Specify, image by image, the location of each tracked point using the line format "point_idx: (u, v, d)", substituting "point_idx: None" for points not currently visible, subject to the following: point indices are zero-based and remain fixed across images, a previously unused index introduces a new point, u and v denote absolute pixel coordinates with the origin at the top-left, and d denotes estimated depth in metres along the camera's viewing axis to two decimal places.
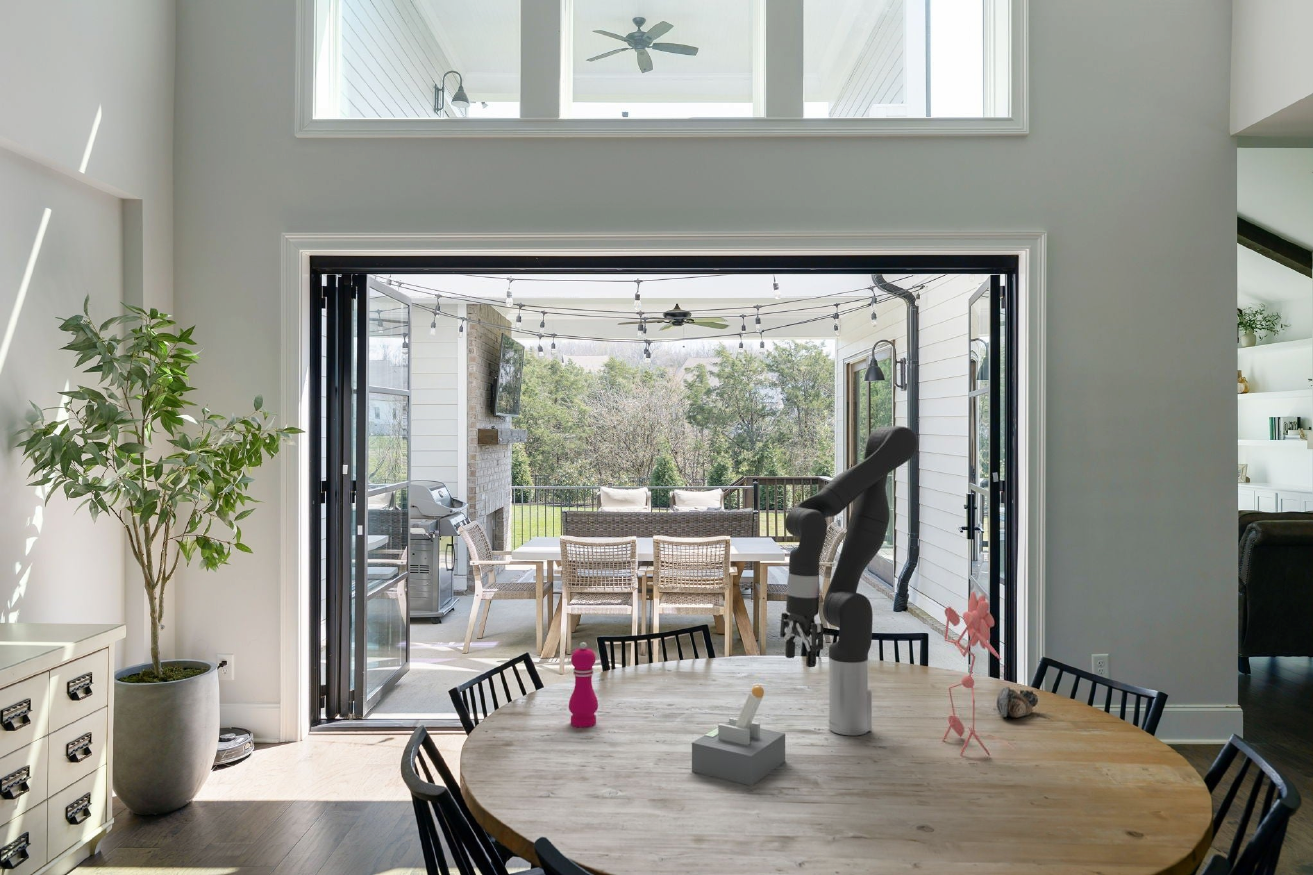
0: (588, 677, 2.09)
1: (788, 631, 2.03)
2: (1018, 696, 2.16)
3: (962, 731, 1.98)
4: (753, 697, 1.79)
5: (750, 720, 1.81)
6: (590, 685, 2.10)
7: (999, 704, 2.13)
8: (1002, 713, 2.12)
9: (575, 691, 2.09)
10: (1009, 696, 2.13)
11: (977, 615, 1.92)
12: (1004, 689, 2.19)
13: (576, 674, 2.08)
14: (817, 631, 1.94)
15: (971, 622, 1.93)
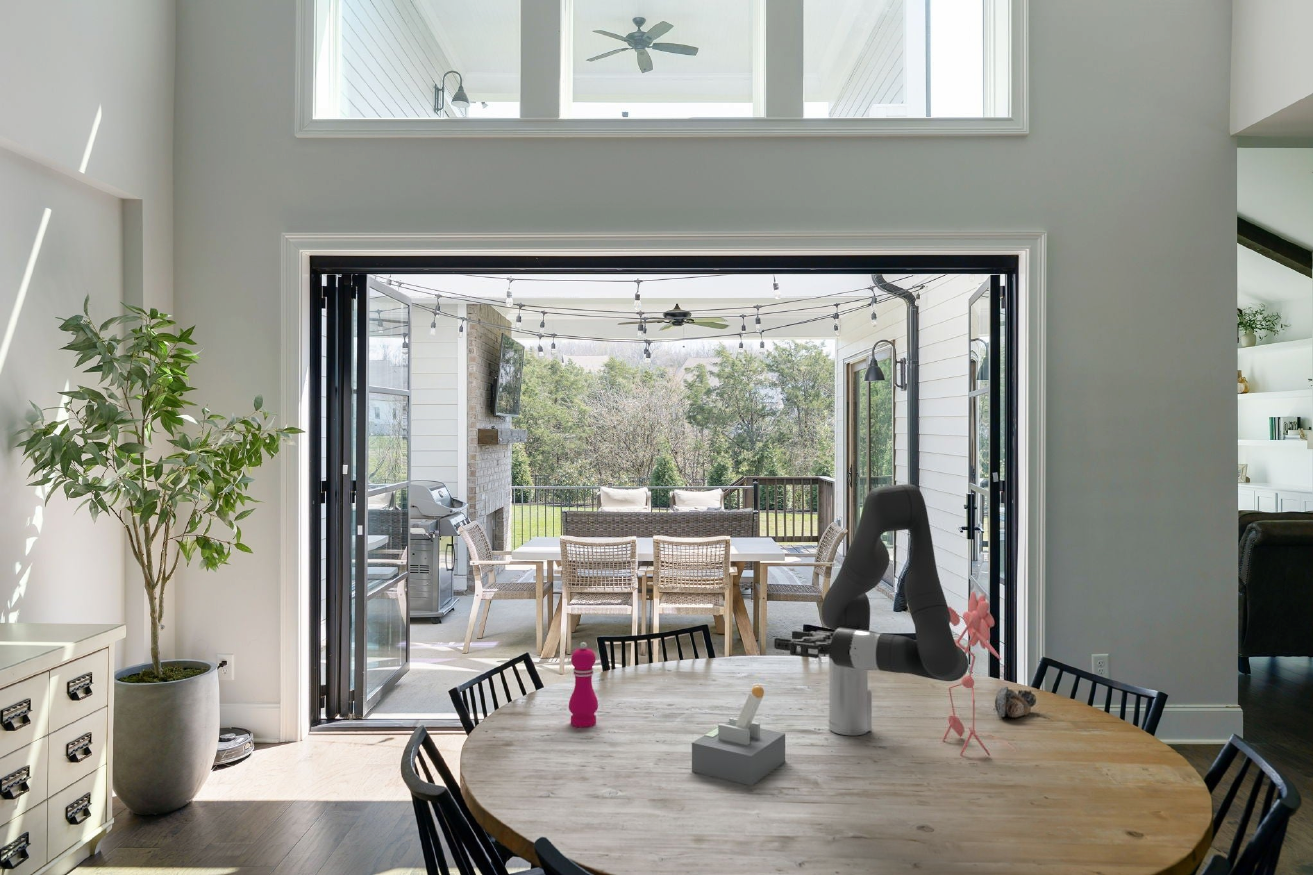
0: (588, 677, 2.09)
1: None
2: (1016, 696, 2.16)
3: (962, 731, 1.98)
4: (753, 697, 1.79)
5: (750, 720, 1.81)
6: (590, 685, 2.10)
7: (997, 704, 2.13)
8: (1000, 713, 2.12)
9: (575, 691, 2.09)
10: (1007, 696, 2.13)
11: (977, 615, 1.92)
12: (1002, 689, 2.19)
13: (576, 674, 2.08)
14: None
15: (971, 622, 1.93)
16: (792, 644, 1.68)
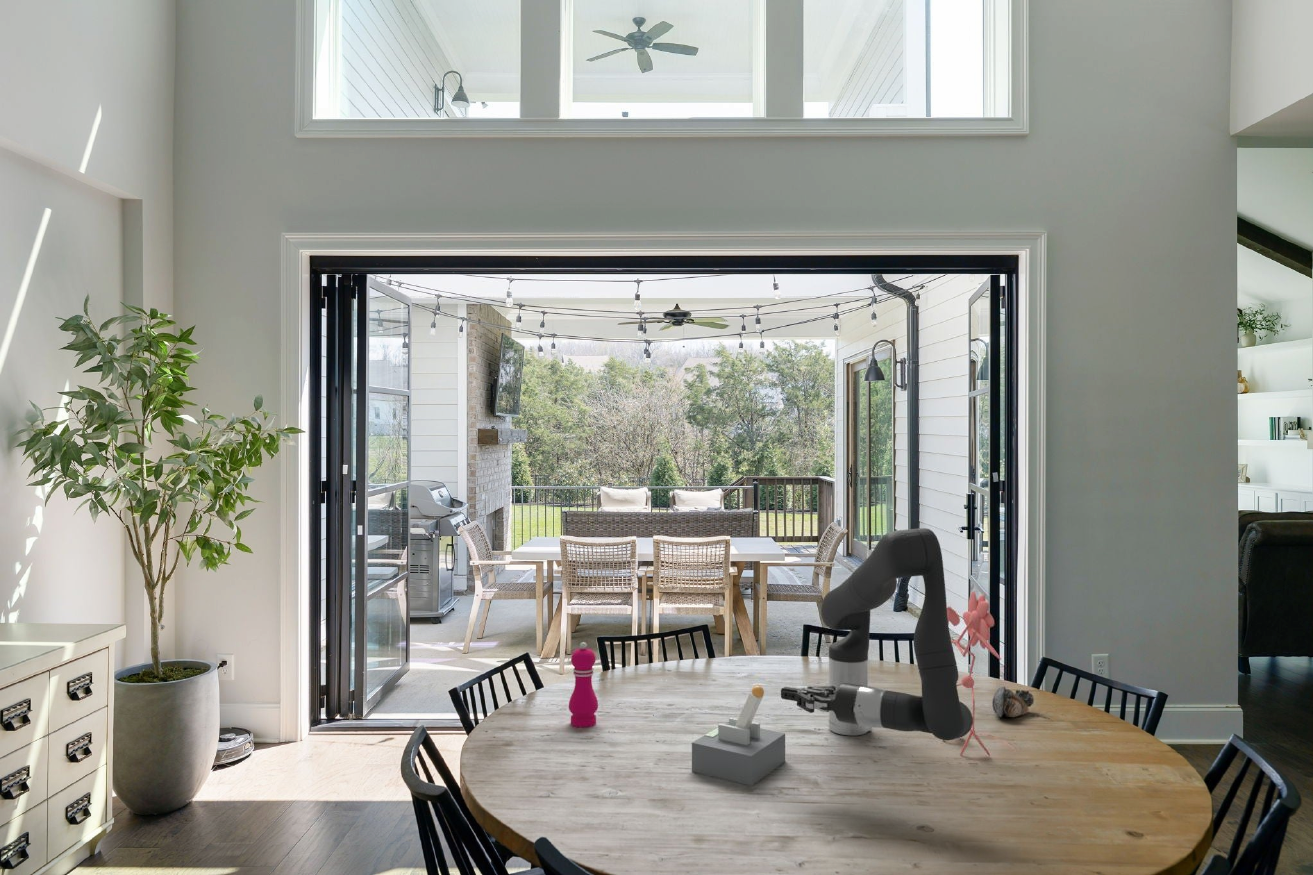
0: (588, 677, 2.09)
1: None
2: (1014, 696, 2.16)
3: None
4: (753, 697, 1.79)
5: (750, 720, 1.81)
6: (590, 685, 2.10)
7: (994, 704, 2.13)
8: (997, 713, 2.12)
9: (575, 691, 2.09)
10: (1004, 696, 2.13)
11: (977, 615, 1.92)
12: (1000, 689, 2.19)
13: (576, 674, 2.08)
14: None
15: (971, 622, 1.93)
16: None
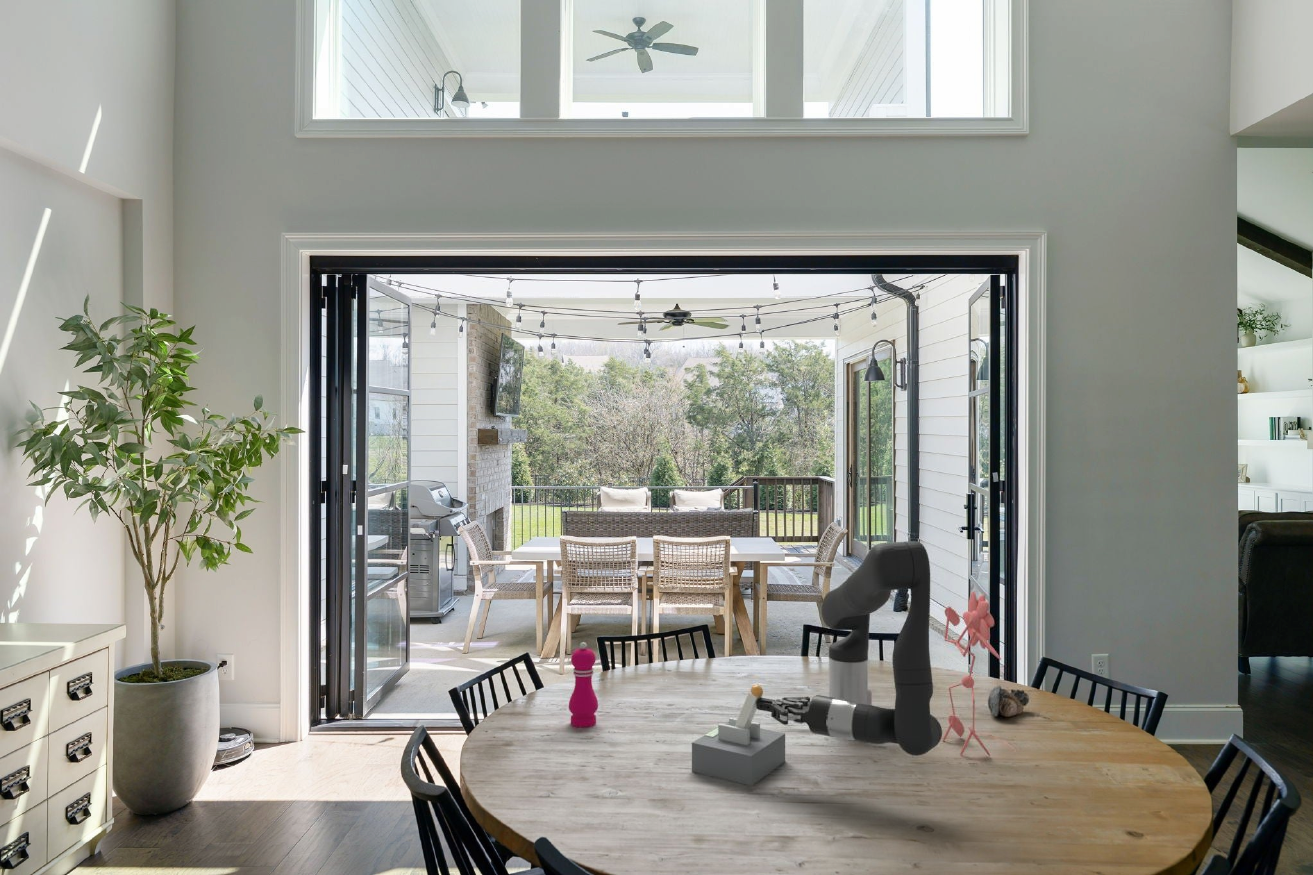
0: (588, 677, 2.09)
1: None
2: (1009, 695, 2.17)
3: (962, 731, 1.98)
4: (752, 696, 1.79)
5: (750, 720, 1.81)
6: (590, 685, 2.10)
7: (990, 703, 2.14)
8: (993, 712, 2.13)
9: (575, 691, 2.09)
10: (1000, 695, 2.14)
11: (977, 615, 1.92)
12: (995, 688, 2.19)
13: (576, 674, 2.08)
14: None
15: (971, 622, 1.93)
16: None
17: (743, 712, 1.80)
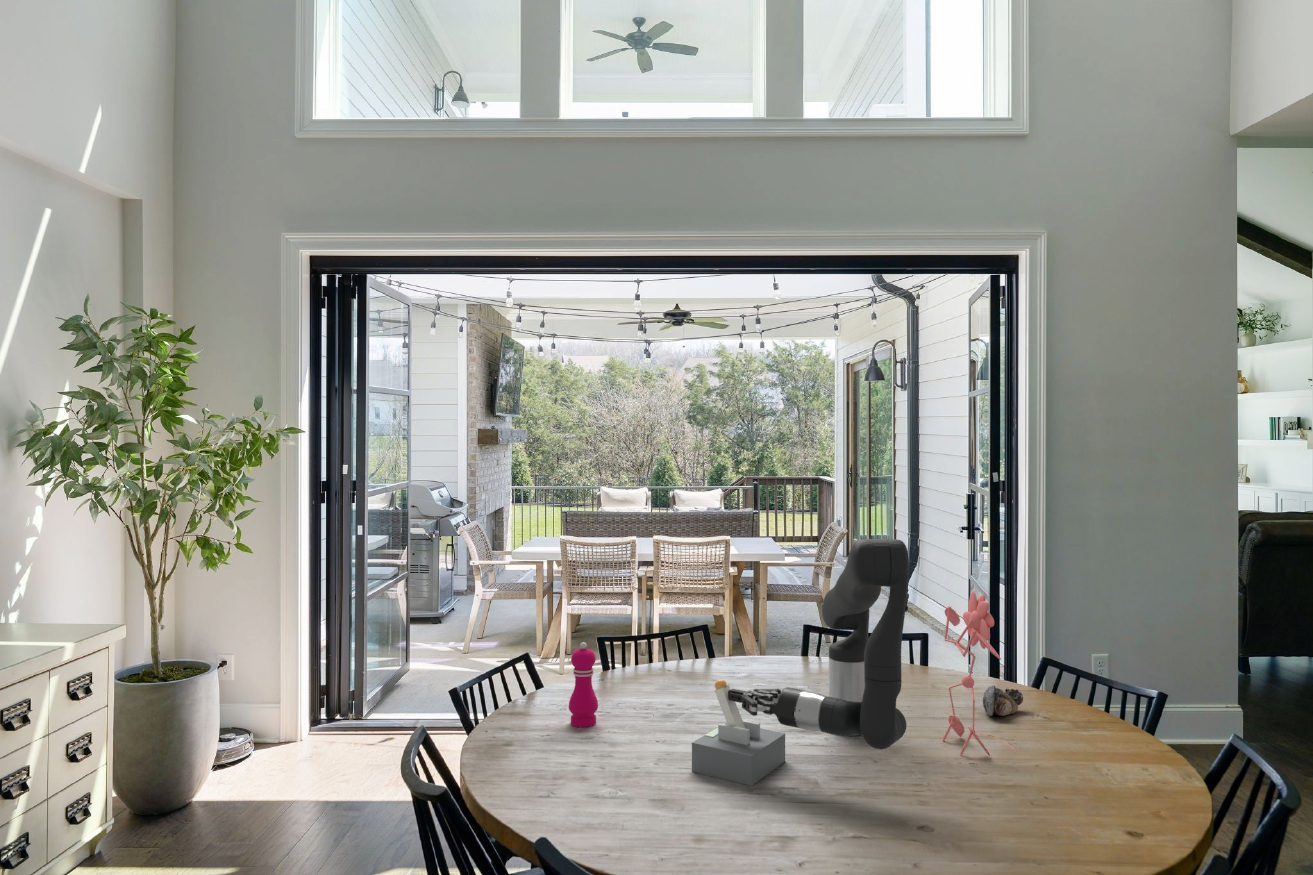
0: (588, 677, 2.09)
1: None
2: (1004, 695, 2.17)
3: (962, 731, 1.98)
4: (718, 690, 1.84)
5: (736, 713, 1.83)
6: (590, 685, 2.10)
7: (985, 703, 2.14)
8: (988, 712, 2.13)
9: (575, 691, 2.09)
10: (995, 695, 2.14)
11: (977, 615, 1.92)
12: (990, 688, 2.20)
13: (576, 674, 2.08)
14: None
15: (971, 622, 1.93)
16: None
17: (724, 710, 1.83)
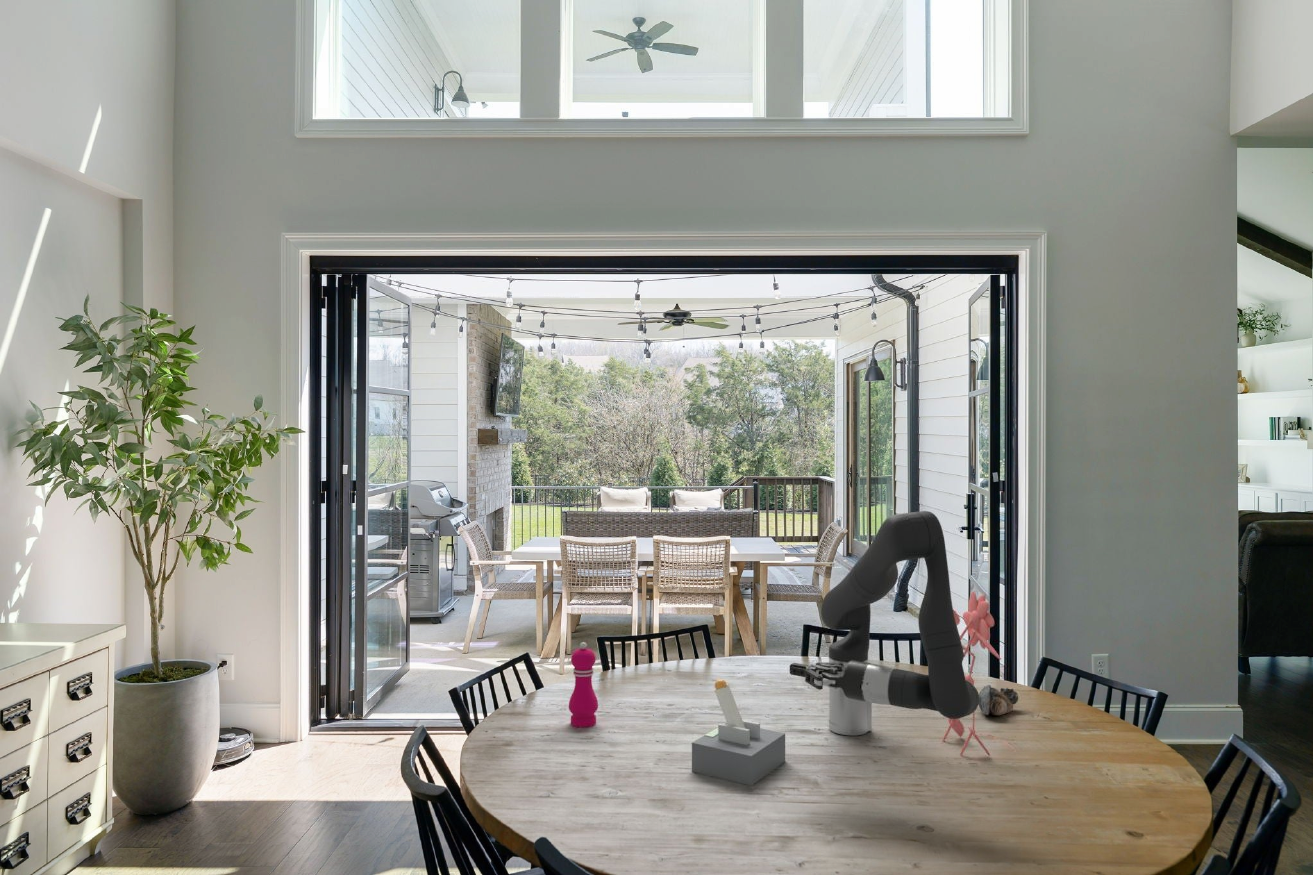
0: (588, 677, 2.09)
1: None
2: (999, 694, 2.18)
3: (962, 731, 1.98)
4: (718, 690, 1.84)
5: (736, 713, 1.83)
6: (590, 685, 2.10)
7: (981, 702, 2.15)
8: (984, 711, 2.13)
9: (575, 691, 2.09)
10: (991, 694, 2.14)
11: (977, 615, 1.92)
12: (985, 687, 2.20)
13: (576, 674, 2.08)
14: None
15: (971, 622, 1.93)
16: None
17: (724, 710, 1.83)
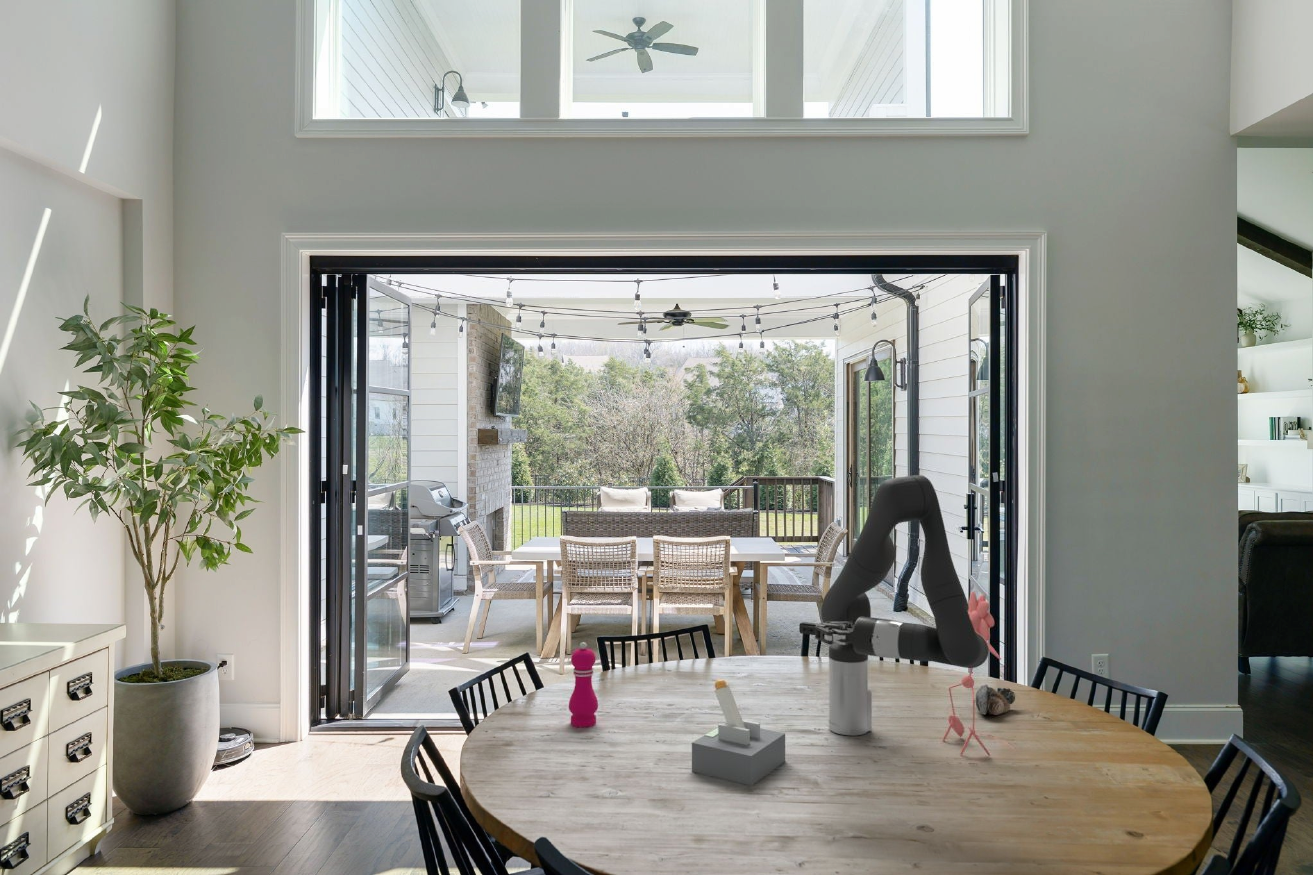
0: (588, 677, 2.09)
1: None
2: (996, 694, 2.18)
3: (962, 731, 1.98)
4: (718, 690, 1.84)
5: (736, 713, 1.83)
6: (590, 685, 2.10)
7: (978, 702, 2.15)
8: (981, 711, 2.14)
9: (575, 691, 2.09)
10: (988, 694, 2.15)
11: (977, 615, 1.92)
12: (982, 687, 2.21)
13: (576, 674, 2.08)
14: None
15: None
16: None
17: (724, 710, 1.83)
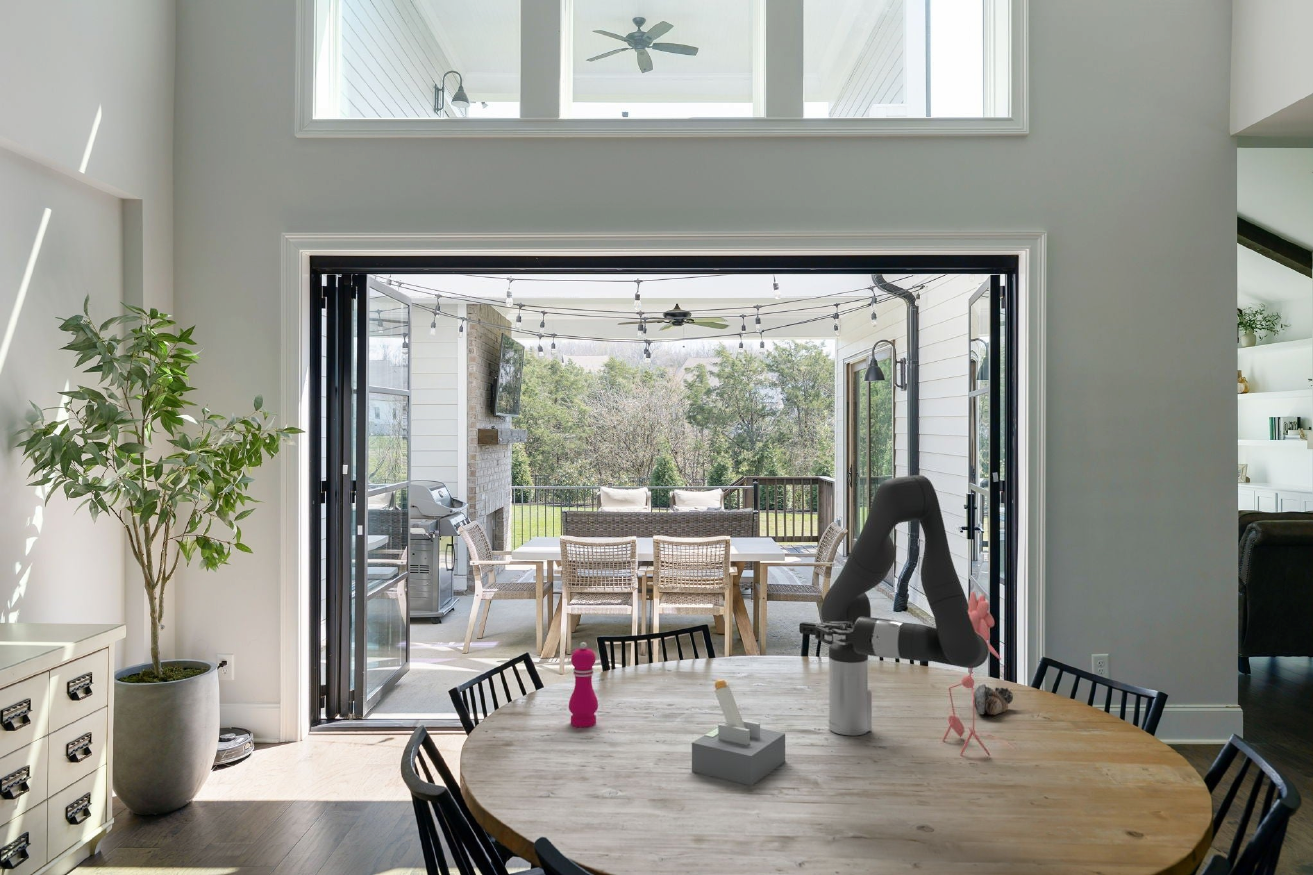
0: (588, 677, 2.09)
1: None
2: (994, 693, 2.19)
3: (962, 731, 1.98)
4: (718, 690, 1.84)
5: (736, 713, 1.83)
6: (590, 685, 2.10)
7: (976, 702, 2.15)
8: (979, 711, 2.14)
9: (575, 691, 2.09)
10: (986, 694, 2.15)
11: (977, 615, 1.92)
12: (980, 687, 2.21)
13: (576, 674, 2.08)
14: None
15: None
16: None
17: (724, 710, 1.83)
